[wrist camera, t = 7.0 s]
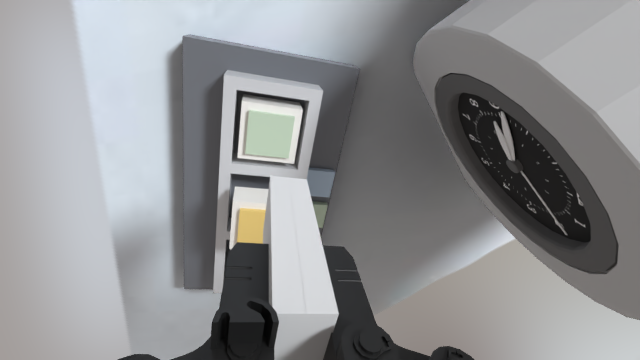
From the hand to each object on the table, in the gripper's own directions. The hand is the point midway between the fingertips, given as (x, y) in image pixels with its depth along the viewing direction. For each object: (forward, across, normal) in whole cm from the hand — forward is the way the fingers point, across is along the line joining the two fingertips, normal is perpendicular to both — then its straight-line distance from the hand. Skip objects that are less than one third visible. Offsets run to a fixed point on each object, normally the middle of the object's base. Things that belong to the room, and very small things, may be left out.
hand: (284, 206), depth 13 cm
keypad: (+14, -1, -6) cm, 15 cm away
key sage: (+11, -1, 0) cm, 11 cm away
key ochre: (+9, -1, -6) cm, 11 cm away
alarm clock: (+14, +18, +3) cm, 23 cm away
